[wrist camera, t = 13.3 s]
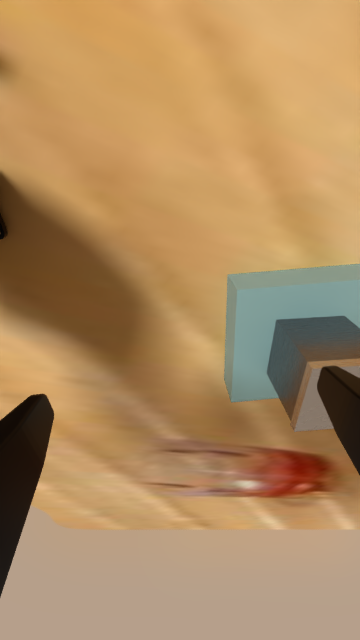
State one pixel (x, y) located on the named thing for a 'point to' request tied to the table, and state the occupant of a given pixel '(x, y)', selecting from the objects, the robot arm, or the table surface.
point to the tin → (310, 364)
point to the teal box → (278, 317)
